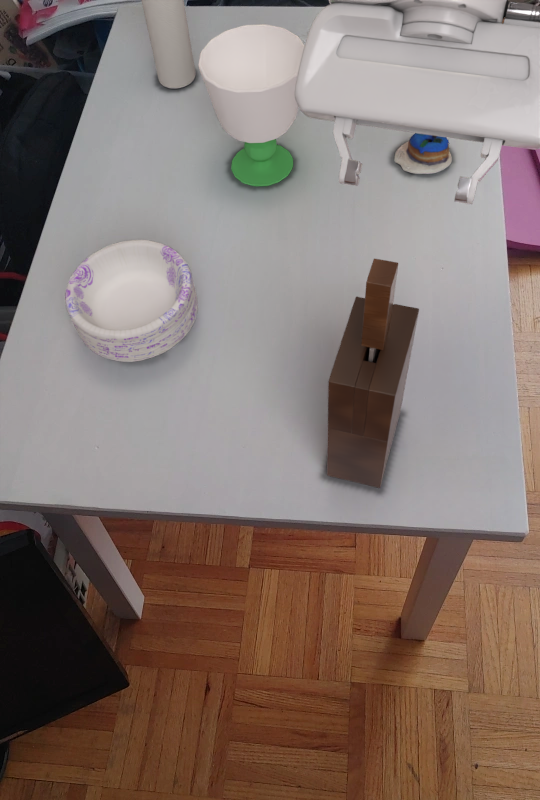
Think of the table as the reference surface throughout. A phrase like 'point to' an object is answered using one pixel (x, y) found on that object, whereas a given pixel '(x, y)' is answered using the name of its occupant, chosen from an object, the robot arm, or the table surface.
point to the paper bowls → (132, 300)
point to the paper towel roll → (170, 41)
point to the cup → (254, 95)
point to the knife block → (367, 397)
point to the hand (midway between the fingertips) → (404, 193)
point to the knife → (378, 305)
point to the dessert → (424, 154)
